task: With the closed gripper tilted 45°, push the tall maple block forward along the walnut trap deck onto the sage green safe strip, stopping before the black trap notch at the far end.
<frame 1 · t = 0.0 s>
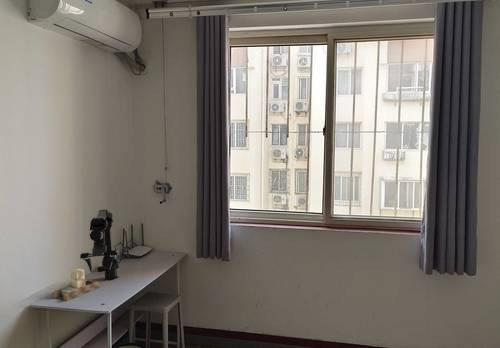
hand: (100, 271, 223), 15 cm above the table, tool pointing down, fingers open, 9 cm apart
maple block: (78, 286, 238), point 3 cm above the table, touching trap deck
trap deck: (76, 292, 237), on the table
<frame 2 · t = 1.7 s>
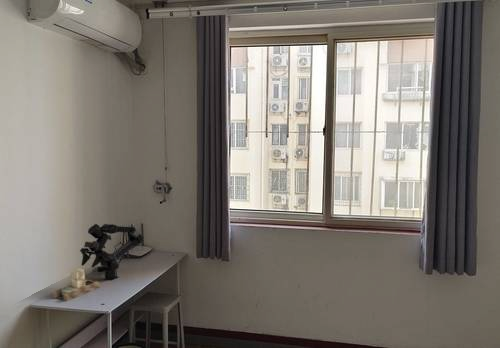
hand: (87, 266, 242), 12 cm above the table, tool tilted 45°, fingers open, 8 cm apart
nothing on the table moved.
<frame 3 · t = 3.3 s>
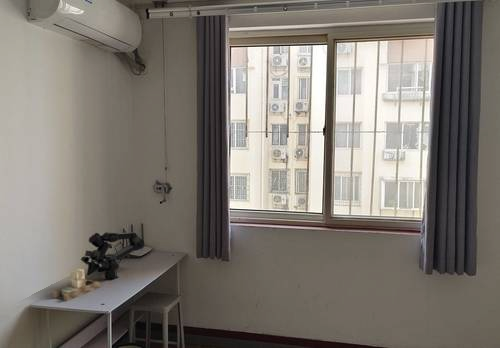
hand: (87, 275, 243), 7 cm above the table, tool tilted 45°, fingers closed
nothing on the table moved.
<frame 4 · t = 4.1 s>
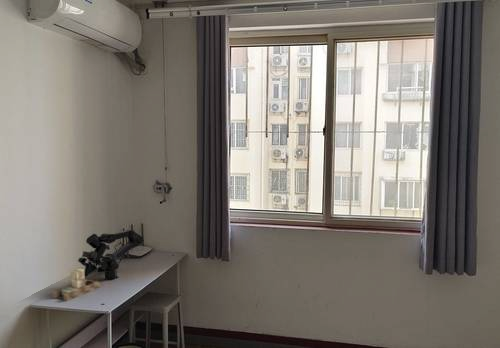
hand: (84, 276, 241), 7 cm above the table, tool tilted 45°, fingers closed
nothing on the table moved.
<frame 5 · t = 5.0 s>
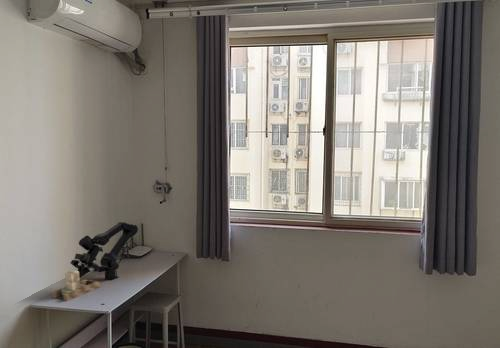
hand: (77, 279, 237), 7 cm above the table, tool tilted 45°, fingers closed
maple block: (73, 288, 235), point 3 cm above the table, touching gripper, trap deck
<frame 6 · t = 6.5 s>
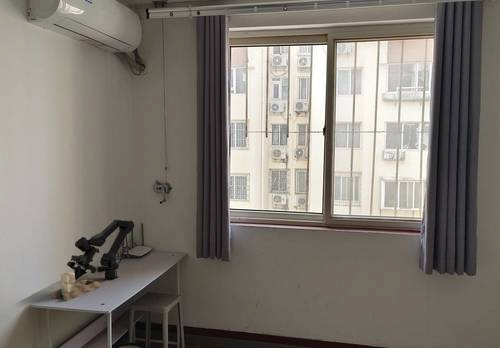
hand: (73, 280, 235), 7 cm above the table, tool tilted 45°, fingers closed
maple block: (69, 289, 232), point 3 cm above the table, touching trap deck
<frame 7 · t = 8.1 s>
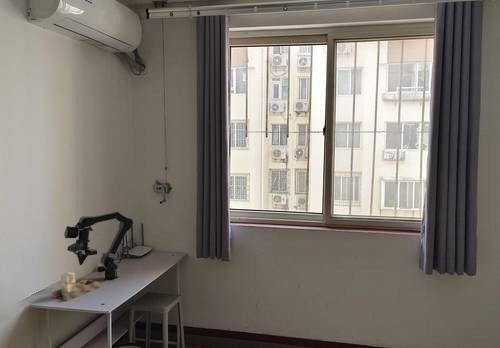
hand: (80, 264, 247), 12 cm above the table, tool pointing down, fingers closed
nothing on the table moved.
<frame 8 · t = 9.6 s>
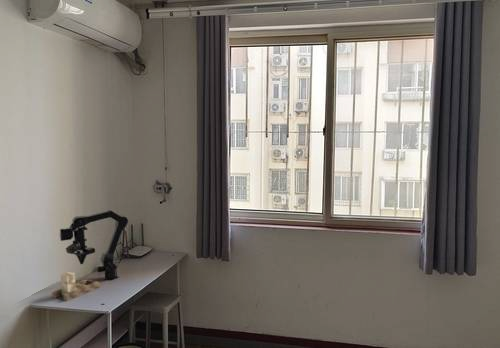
hand: (81, 264, 249), 12 cm above the table, tool pointing down, fingers closed
nothing on the table moved.
at the end: maple block 0.3 cm from the target spot, point 3.0 cm above the table; maple block tilted 0° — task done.
